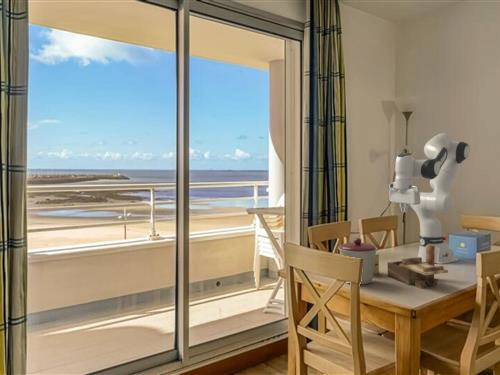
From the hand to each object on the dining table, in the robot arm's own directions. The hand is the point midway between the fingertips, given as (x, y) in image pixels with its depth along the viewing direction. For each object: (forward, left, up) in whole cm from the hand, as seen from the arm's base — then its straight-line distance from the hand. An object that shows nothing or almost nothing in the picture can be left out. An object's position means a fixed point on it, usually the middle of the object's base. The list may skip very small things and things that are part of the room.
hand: (404, 212), depth 210 cm
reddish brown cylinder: (-3, +15, -31) cm, 35 cm away
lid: (+7, +22, -24) cm, 33 cm away
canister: (+32, +7, -31) cm, 45 cm away
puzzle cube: (+20, -5, -31) cm, 38 cm away
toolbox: (+7, +15, -31) cm, 35 cm away
